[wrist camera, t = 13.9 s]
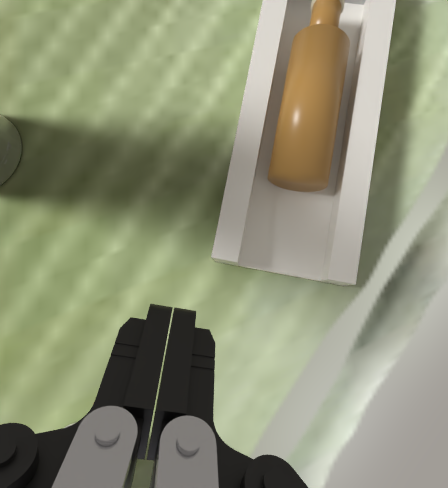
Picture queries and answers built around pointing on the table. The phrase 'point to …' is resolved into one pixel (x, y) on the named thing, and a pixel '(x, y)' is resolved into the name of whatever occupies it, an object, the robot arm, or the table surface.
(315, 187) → the amber bottle
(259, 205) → the white trough
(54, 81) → the table surface
